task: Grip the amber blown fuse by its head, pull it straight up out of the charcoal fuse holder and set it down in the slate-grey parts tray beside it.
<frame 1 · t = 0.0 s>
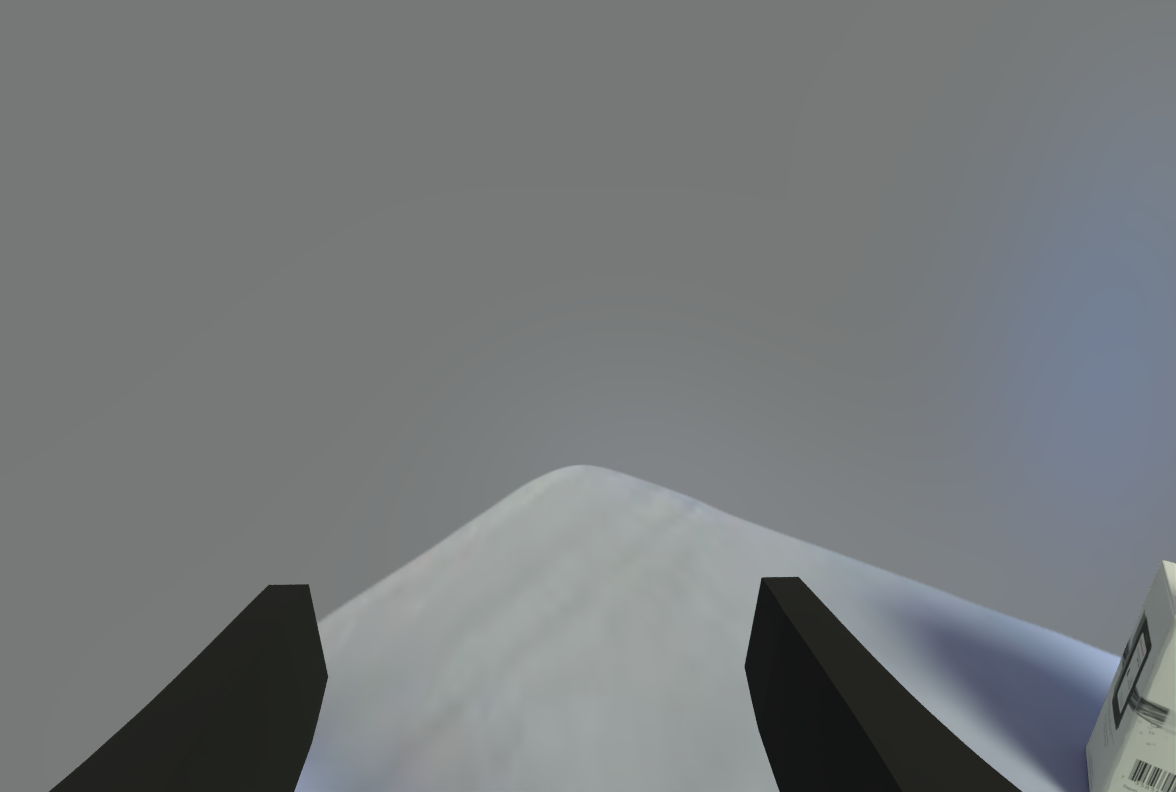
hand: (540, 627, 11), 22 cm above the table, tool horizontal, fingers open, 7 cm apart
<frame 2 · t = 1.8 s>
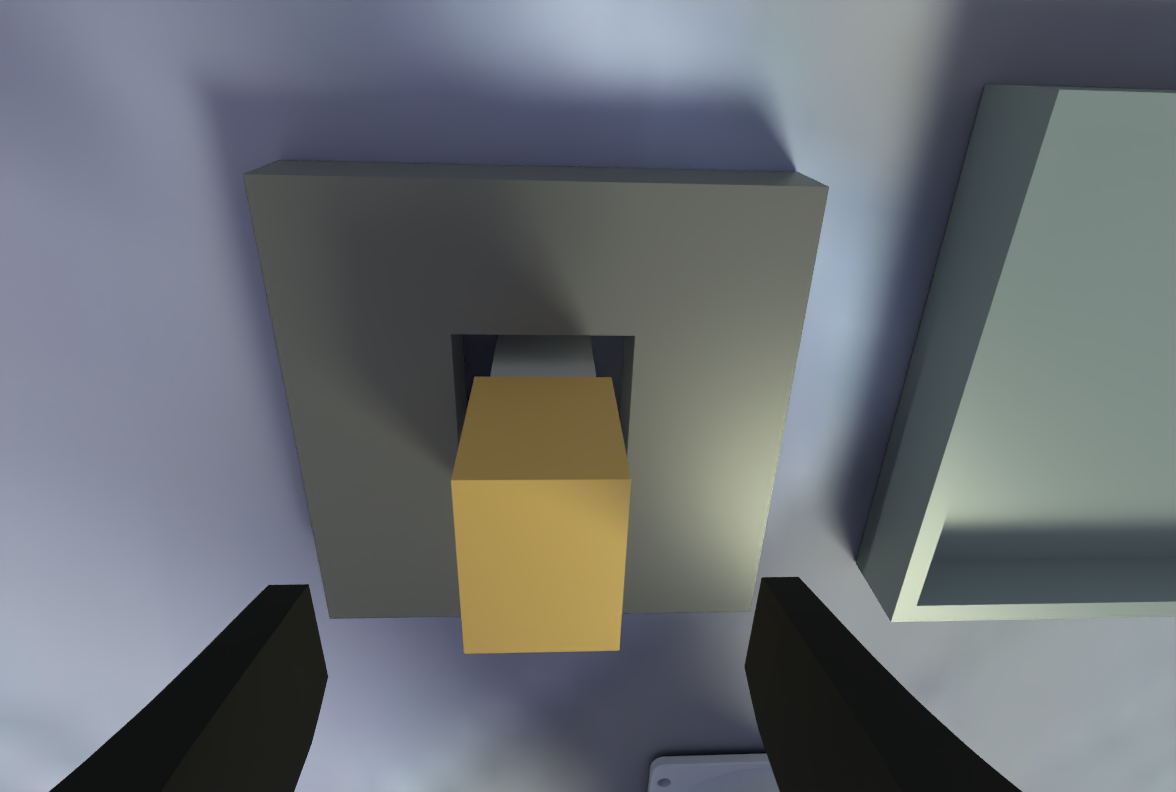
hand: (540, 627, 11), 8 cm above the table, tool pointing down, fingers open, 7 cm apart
fuse: (543, 466, 15), in the fuse holder
fuse holder: (544, 396, 18), on the table
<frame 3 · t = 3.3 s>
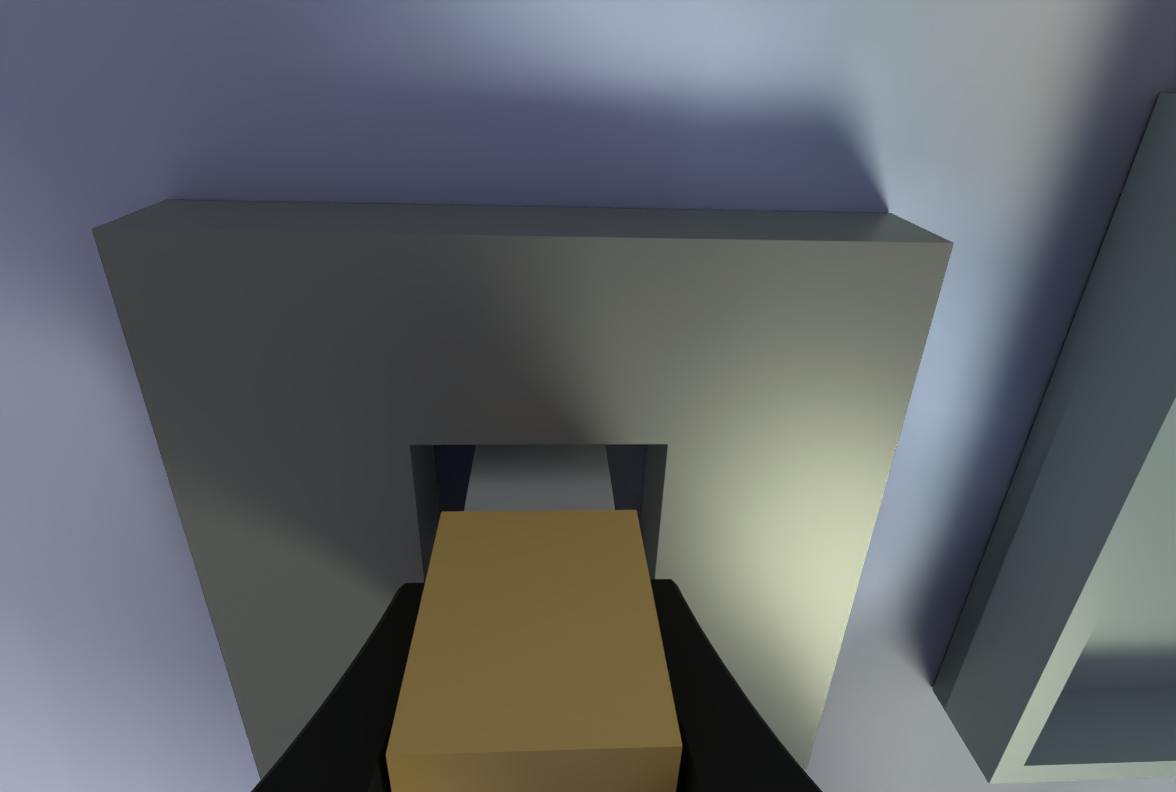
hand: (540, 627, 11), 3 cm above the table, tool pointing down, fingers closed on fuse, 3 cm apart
fuse: (539, 630, 11), in the fuse holder, touching gripper
fuse holder: (541, 501, 14), on the table
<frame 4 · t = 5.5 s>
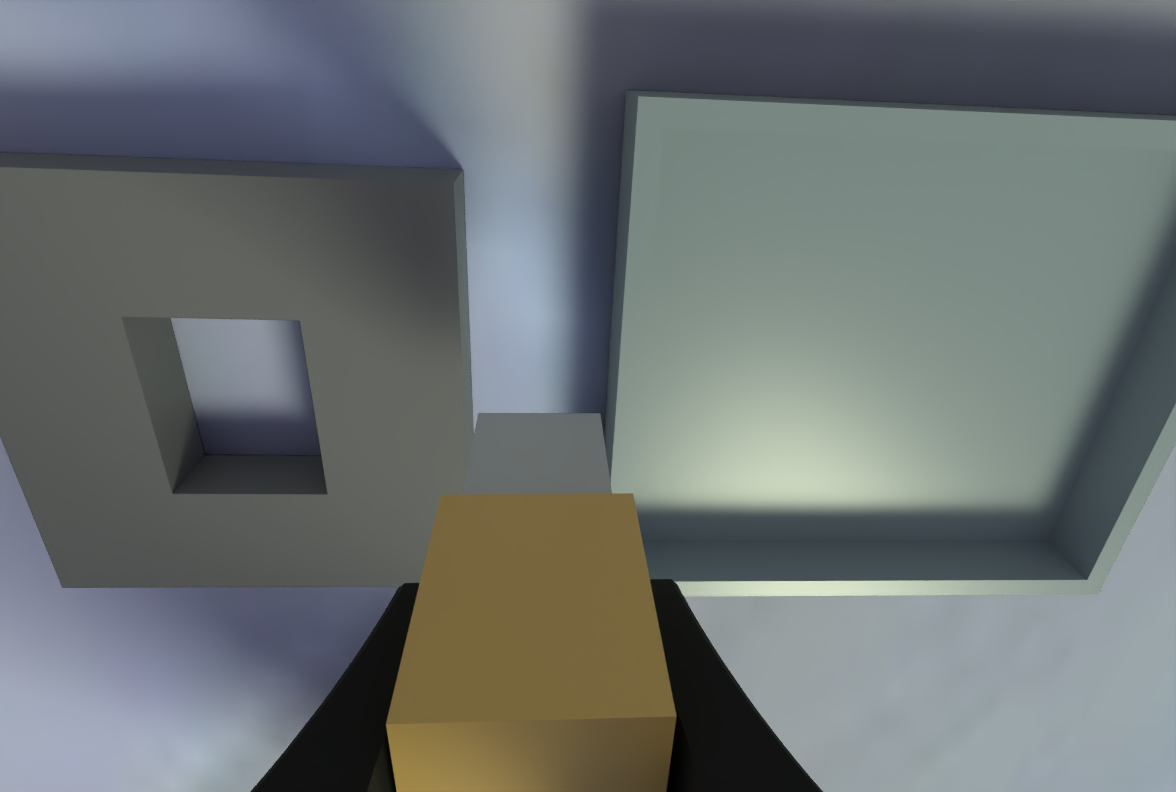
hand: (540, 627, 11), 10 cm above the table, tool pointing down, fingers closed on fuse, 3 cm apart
fuse: (537, 612, 11), point 10 cm above the table, touching gripper
parts tray: (875, 358, 20), on the table
fuse holder: (261, 379, 19), on the table
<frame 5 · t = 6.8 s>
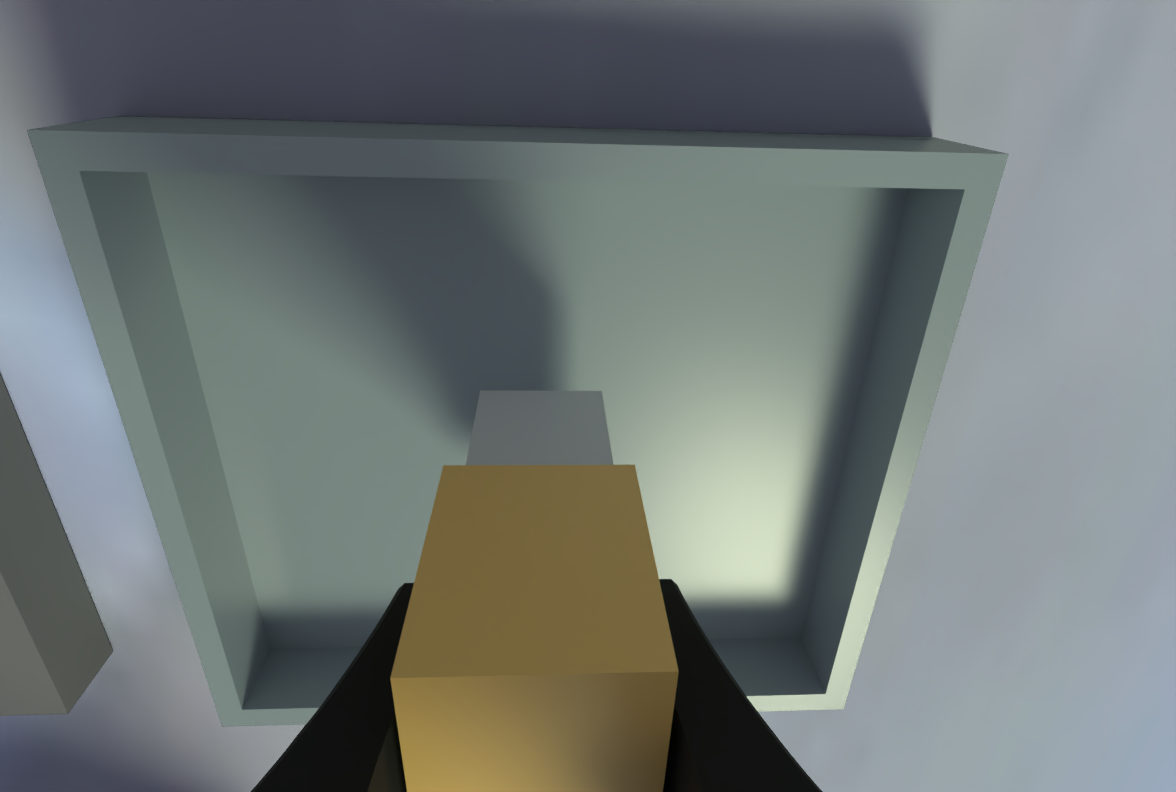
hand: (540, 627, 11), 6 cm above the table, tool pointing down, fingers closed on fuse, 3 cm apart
fuse: (539, 584, 11), point 6 cm above the table, touching gripper
parts tray: (541, 434, 16), on the table
when the fingers open (5 cm above the table, at t = 7.7 s): fuse stays where it is, resting on parts tray.
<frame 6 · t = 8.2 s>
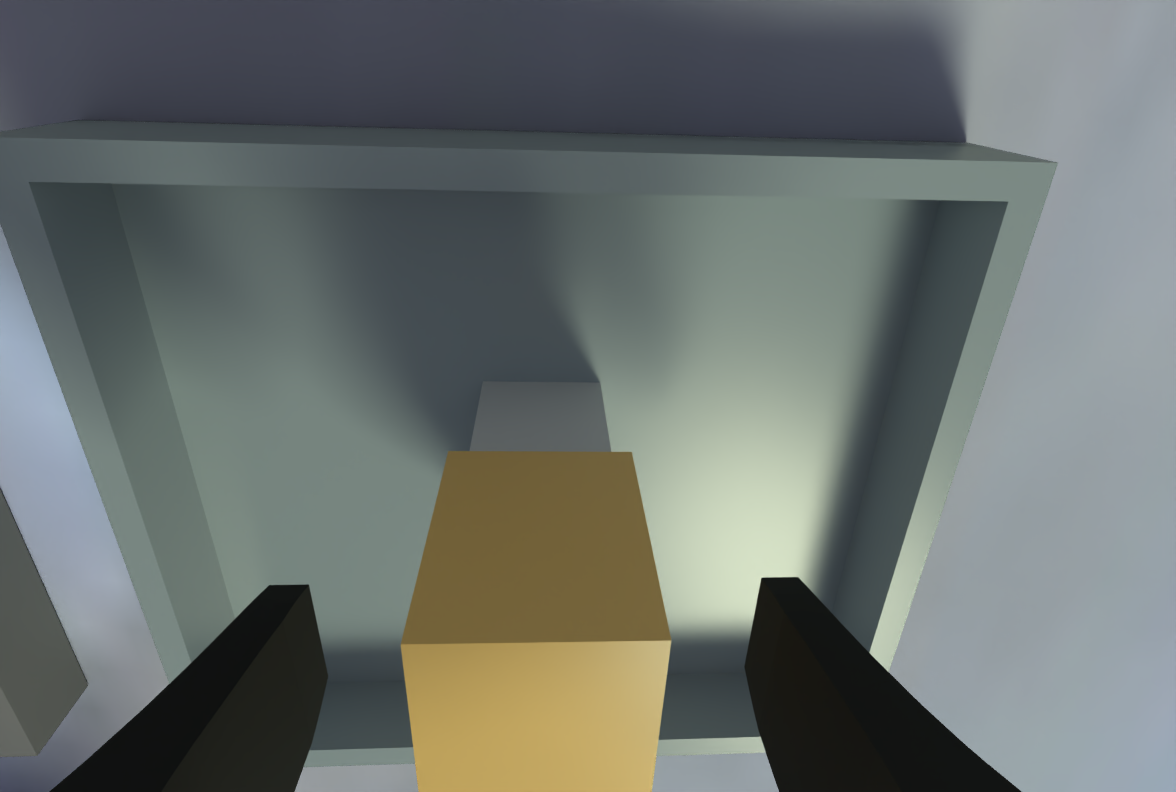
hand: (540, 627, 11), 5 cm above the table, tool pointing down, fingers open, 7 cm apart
fuse: (539, 566, 11), in the parts tray, point 4 cm above the table
parts tray: (542, 459, 15), on the table
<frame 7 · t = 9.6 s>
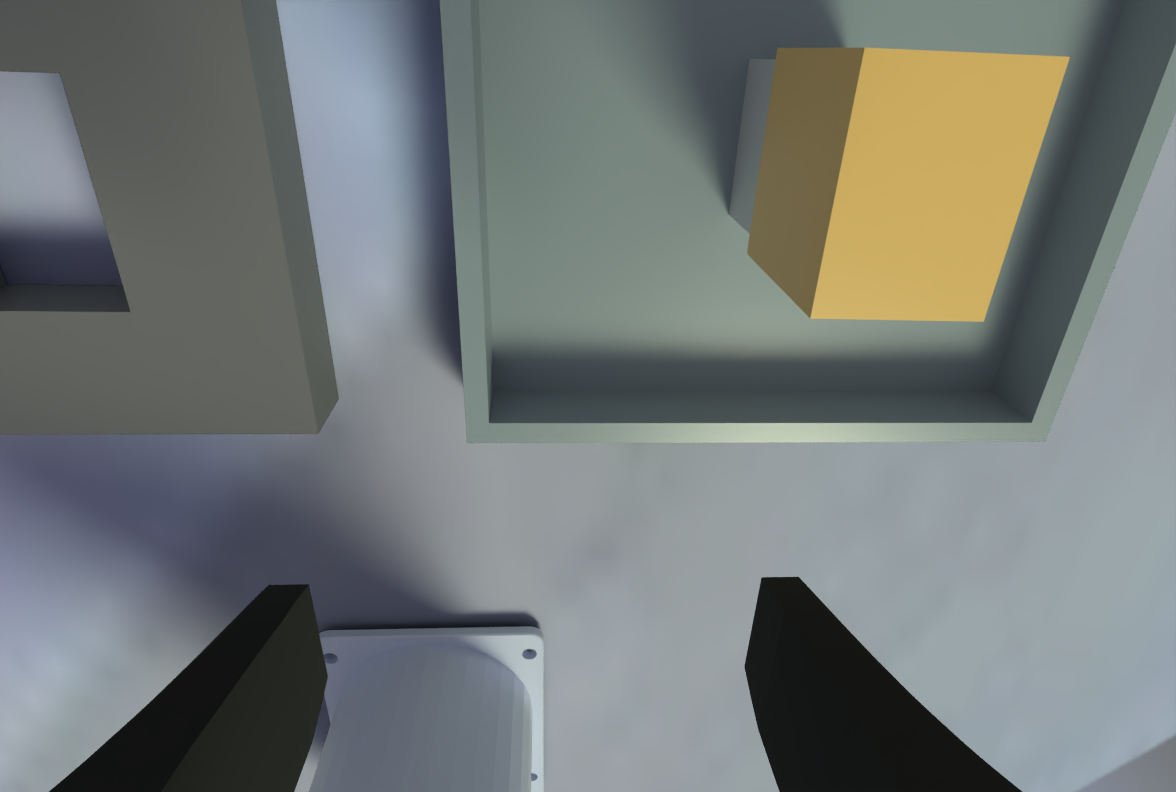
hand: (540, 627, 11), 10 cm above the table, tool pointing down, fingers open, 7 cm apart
fuse: (841, 163, 13), in the parts tray, point 4 cm above the table
parts tray: (776, 158, 17), on the table
fuse holder: (57, 184, 17), on the table
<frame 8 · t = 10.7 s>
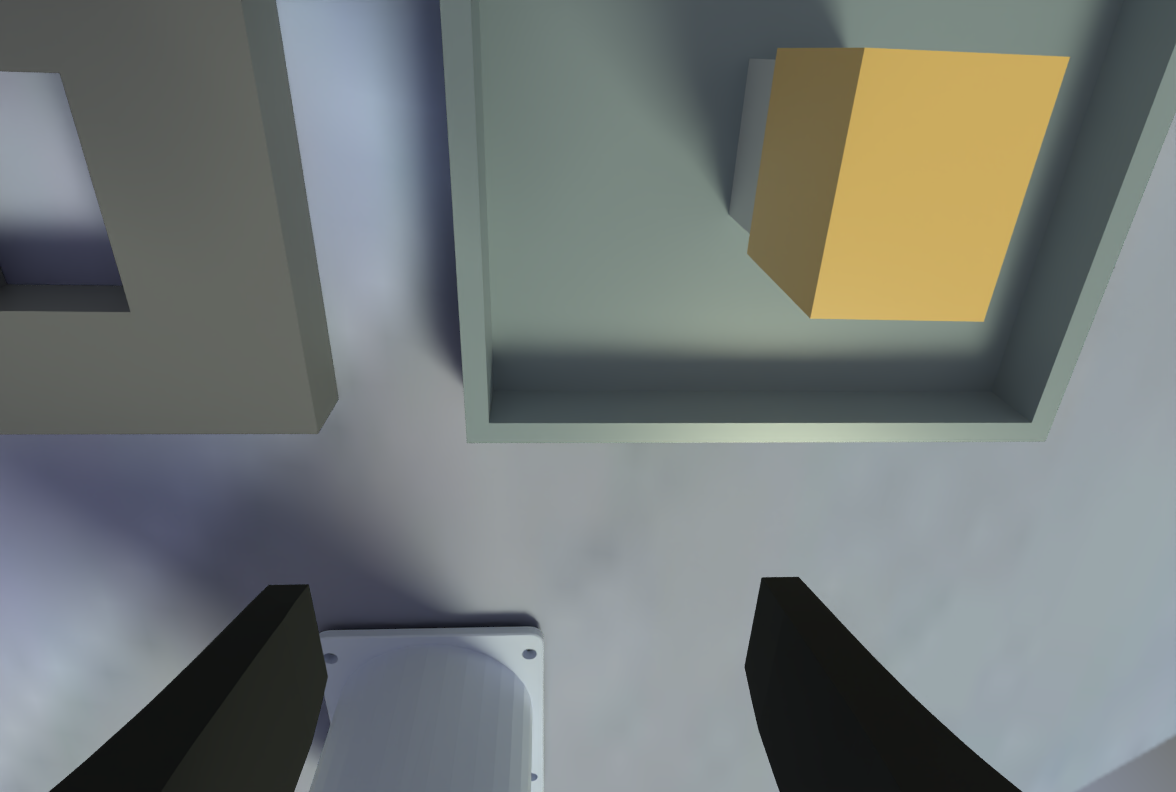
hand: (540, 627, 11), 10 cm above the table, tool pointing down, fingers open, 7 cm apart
fuse: (841, 163, 13), in the parts tray, point 4 cm above the table
parts tray: (776, 158, 17), on the table
fuse holder: (57, 184, 17), on the table
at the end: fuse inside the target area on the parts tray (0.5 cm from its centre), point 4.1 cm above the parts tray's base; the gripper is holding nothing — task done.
